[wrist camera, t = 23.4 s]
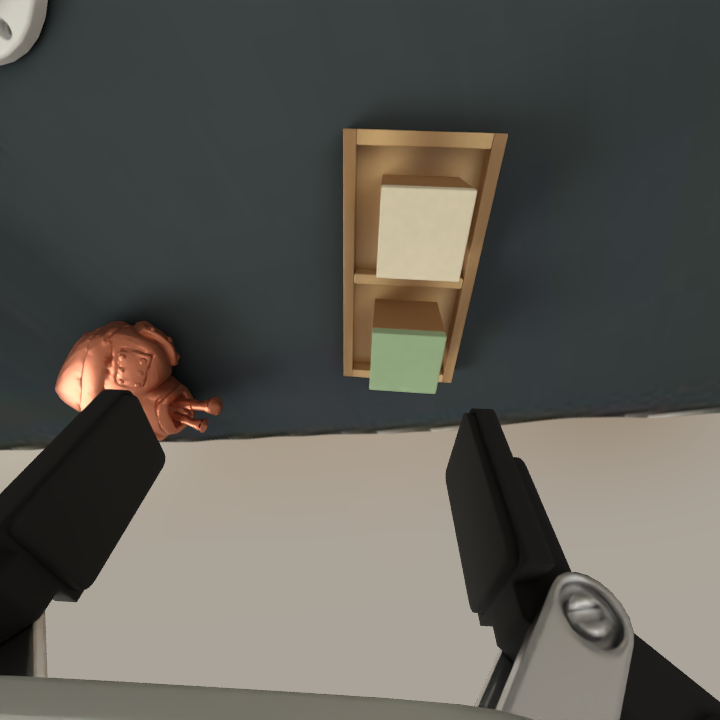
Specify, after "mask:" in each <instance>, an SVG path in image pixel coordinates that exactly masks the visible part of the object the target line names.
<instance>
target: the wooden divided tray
mask: <svg viewBox="0 0 720 720" xmlns="http://www.w3.org/2000/svg"><path fill="white" fill-rule="evenodd" d="M507 138H508V134H505V133H478V132H447V131H416V130H385V129H354V128H344V129H343V317H344V376H353V377H369V378H370V364H371V345H372V329H373V317H374V304H375V299H387V300H406V301H424V302H437V303H438V307H439V311H440V314H441V318H442V322H443V325H444V329H445V333H446V337H447V339H446V344H445V349H444V354H443V359H442V364H441V369H440V374H439V379H438V382H446V383H451V381H452V376H453V372H454V368H455V363H456V359H457V355H458V350H459V346H460V342H461V337H462V333H463V329H464V324H465V320H466V316H467V311H468V307H469V302H470V298H471V294H472V289H473V285H474V281H475V276H476V272H477V268H478V263H479V259H480V255H481V250H482V246H483V242H484V237H485V233H486V229H487V224H488V220H489V216H490V211H491V207H492V203H493V198H494V194H495V190H496V185H497V181H498V177H499V172H500V168H501V164H502V159H503V155H504V151H505V146H506V142H507ZM383 174H390V175H416V176H443V177H460V178H461V179H462V180H464V181H465V182H466V183H468V184H469V185H470V186H472V187H473V188H474V189H476V190H477V196H476V201H475V206H474V211H473V215H472V220H471V225H470V230H469V235H468V240H467V245H466V250H465V255H464V260H463V265H462V270H461V274H460V279H459V282H451V281H431V280H411V279H392V278H377V277H376V270H377V252H378V234H379V216H380V198H381V184H382V176H383Z"/></svg>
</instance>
